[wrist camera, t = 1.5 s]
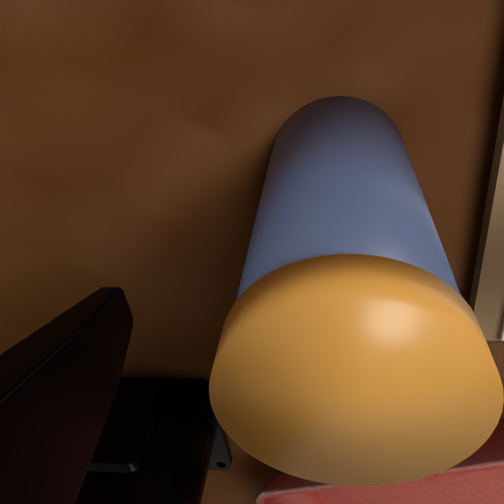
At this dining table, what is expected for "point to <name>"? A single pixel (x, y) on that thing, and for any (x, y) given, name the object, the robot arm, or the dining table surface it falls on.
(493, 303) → the clipboard
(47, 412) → the robot arm
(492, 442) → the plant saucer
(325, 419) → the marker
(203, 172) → the dining table surface
